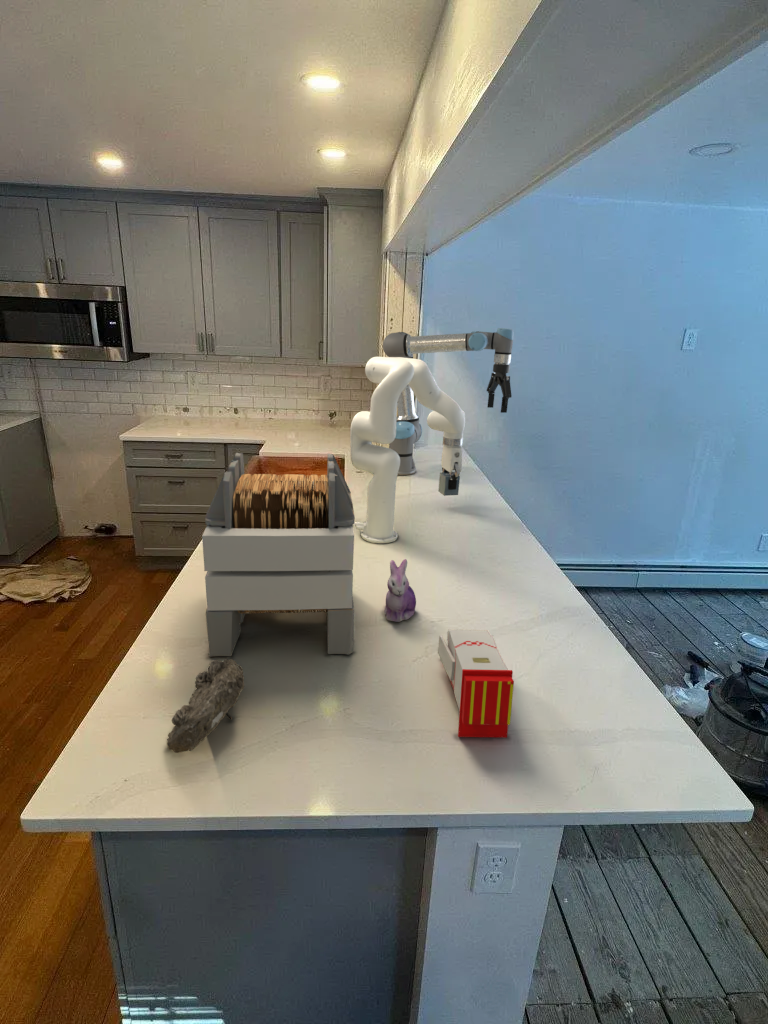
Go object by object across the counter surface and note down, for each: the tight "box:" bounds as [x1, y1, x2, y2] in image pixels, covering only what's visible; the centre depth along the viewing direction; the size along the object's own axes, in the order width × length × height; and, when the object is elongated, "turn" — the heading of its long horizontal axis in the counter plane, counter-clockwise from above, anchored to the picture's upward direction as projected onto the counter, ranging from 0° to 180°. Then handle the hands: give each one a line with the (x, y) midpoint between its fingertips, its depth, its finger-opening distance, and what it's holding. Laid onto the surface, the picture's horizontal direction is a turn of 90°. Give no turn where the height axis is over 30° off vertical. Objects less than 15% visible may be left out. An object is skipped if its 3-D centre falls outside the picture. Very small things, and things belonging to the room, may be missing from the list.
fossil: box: [166, 658, 245, 754], centre depth 106 cm, size 22×10×15 cm
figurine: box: [384, 558, 417, 623], centre depth 145 cm, size 9×10×15 cm
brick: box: [438, 472, 461, 497], centre depth 223 cm, size 6×6×8 cm
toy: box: [437, 628, 515, 738], centre depth 117 cm, size 12×13×30 cm
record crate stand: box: [201, 452, 356, 658], centre depth 136 cm, size 34×33×41 cm
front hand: (448, 486), depth 223 cm, fingers closed on brick, 5 cm apart
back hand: (496, 410), depth 267 cm, fingers open, 13 cm apart
